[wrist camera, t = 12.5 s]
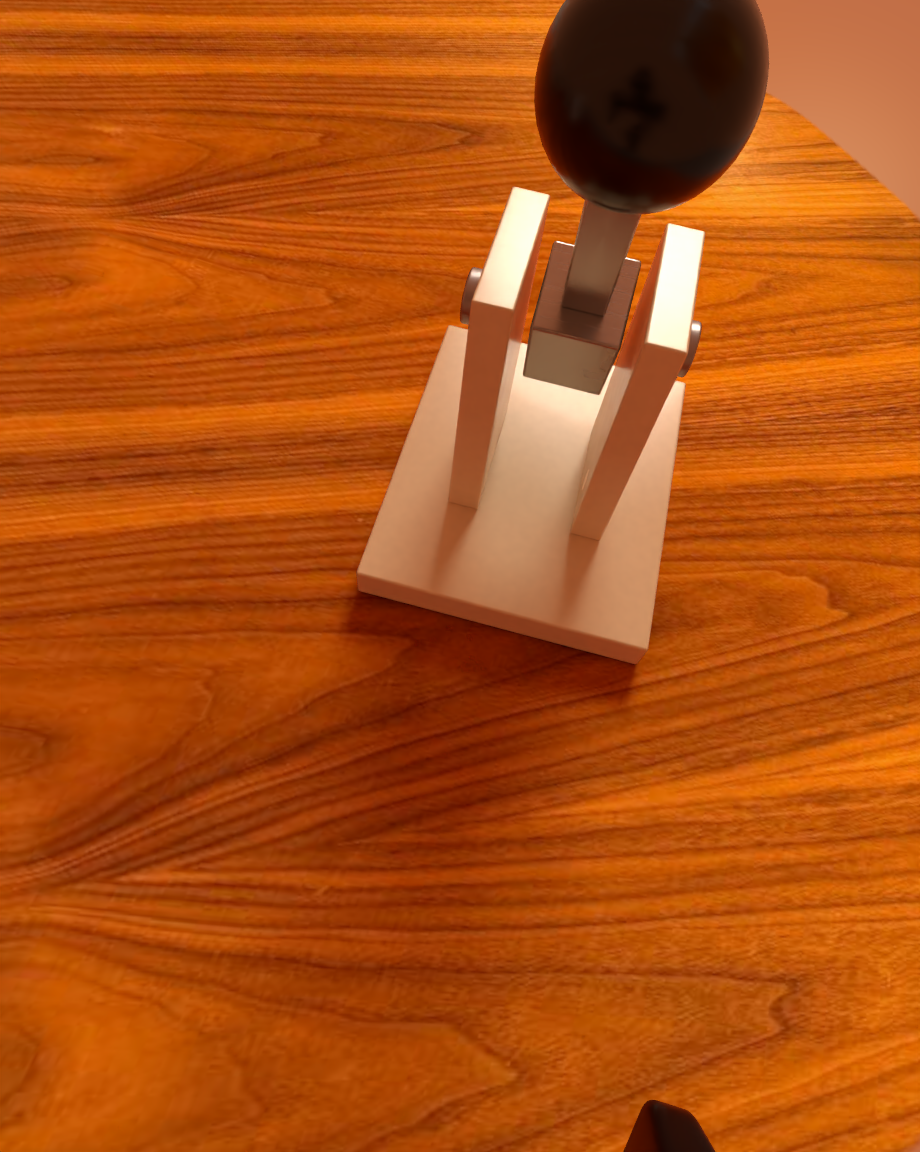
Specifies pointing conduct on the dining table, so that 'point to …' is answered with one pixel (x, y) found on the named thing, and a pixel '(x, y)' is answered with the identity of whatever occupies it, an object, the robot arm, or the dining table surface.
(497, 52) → the dining table surface
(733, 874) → the dining table surface
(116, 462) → the dining table surface
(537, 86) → the lever
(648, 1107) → the robot arm
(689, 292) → the bracket
